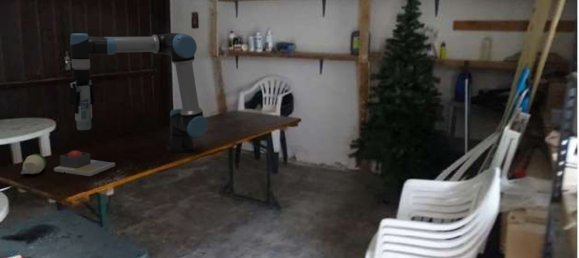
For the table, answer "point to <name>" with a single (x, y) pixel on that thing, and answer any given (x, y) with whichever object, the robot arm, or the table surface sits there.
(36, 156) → the cartoon head
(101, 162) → the tray with gray block
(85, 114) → the spray paint can
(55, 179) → the table surface
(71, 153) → the red dome
